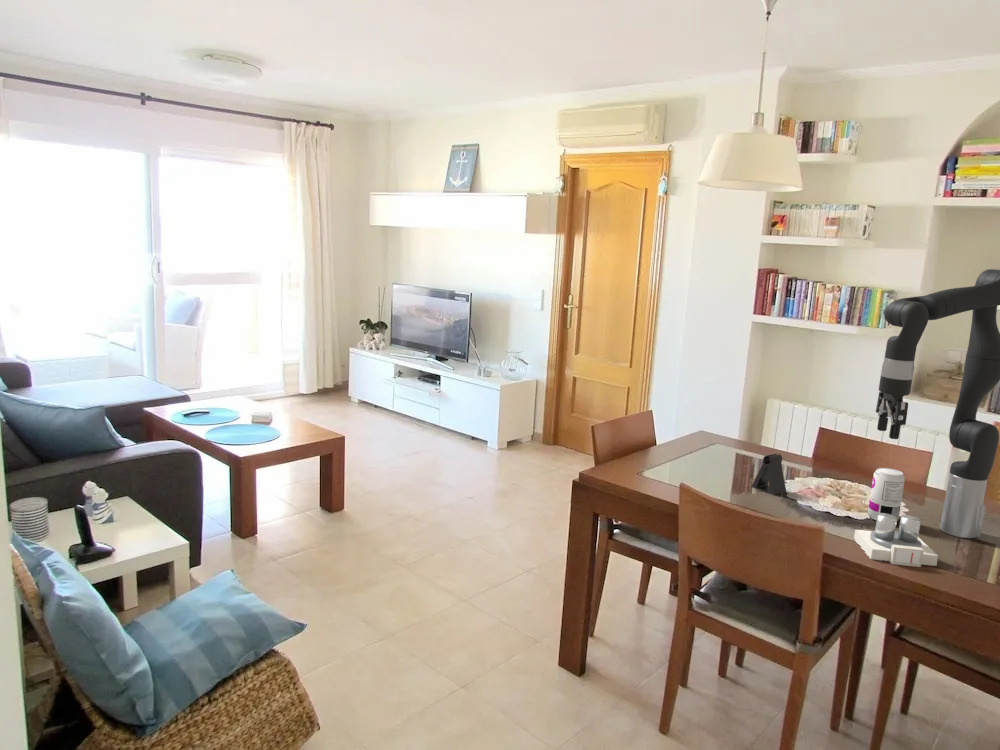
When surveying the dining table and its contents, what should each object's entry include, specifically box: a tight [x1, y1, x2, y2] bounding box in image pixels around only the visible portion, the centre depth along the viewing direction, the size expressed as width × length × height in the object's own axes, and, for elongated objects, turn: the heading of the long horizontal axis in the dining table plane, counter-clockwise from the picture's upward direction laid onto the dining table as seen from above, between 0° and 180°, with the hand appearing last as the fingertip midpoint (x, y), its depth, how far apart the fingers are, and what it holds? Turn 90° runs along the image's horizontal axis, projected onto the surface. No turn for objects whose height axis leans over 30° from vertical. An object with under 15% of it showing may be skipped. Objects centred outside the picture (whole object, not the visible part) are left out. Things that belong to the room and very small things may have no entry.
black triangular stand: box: [751, 453, 787, 496], centre depth 237 cm, size 9×6×12 cm, turn 34°
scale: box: [853, 529, 939, 568], centre depth 192 cm, size 16×15×5 cm
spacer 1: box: [874, 513, 898, 541], centre depth 193 cm, size 5×5×6 cm
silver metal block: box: [897, 514, 922, 543], centre depth 192 cm, size 5×5×6 cm
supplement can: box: [867, 467, 906, 522], centre depth 216 cm, size 8×8×15 cm
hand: (887, 434), depth 196 cm, fingers open, 8 cm apart
